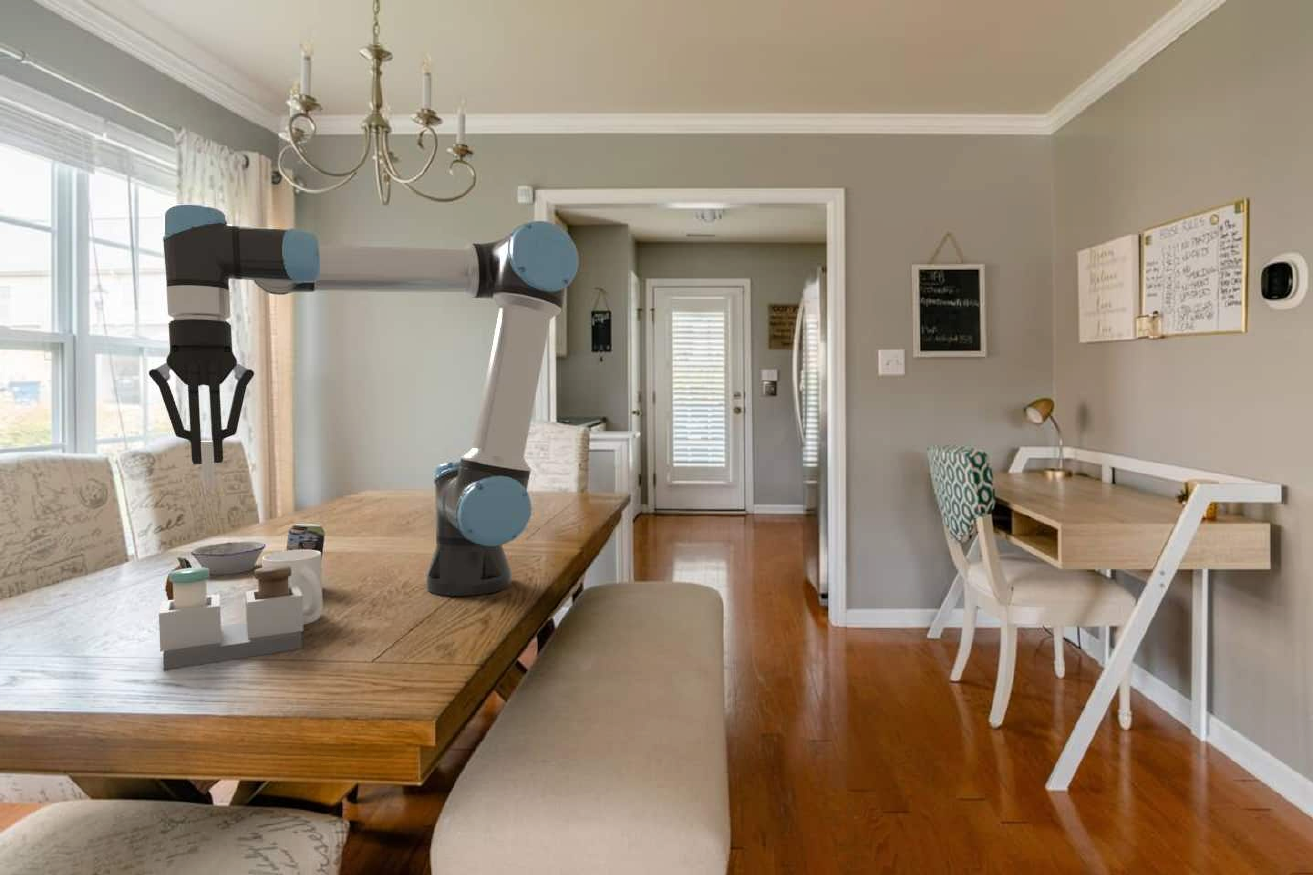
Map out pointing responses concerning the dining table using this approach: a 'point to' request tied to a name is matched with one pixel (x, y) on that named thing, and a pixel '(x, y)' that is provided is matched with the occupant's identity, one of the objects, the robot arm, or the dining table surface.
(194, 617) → the white plug holder
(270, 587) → the walnut plug
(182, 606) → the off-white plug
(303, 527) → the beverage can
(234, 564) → the bowl
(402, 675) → the dining table surface
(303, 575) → the mug
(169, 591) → the rock
